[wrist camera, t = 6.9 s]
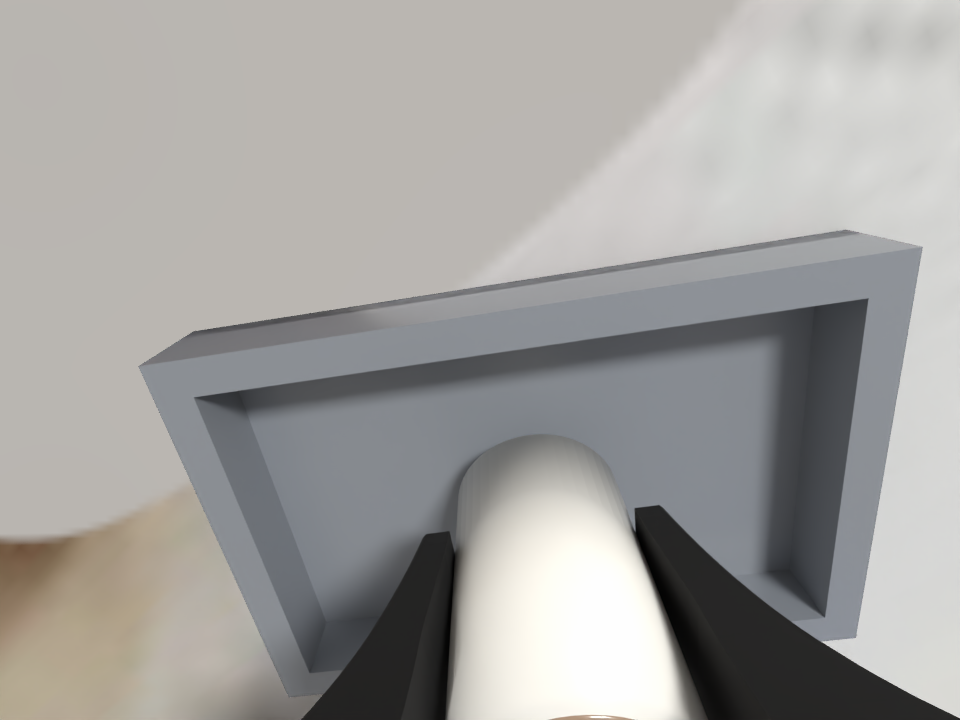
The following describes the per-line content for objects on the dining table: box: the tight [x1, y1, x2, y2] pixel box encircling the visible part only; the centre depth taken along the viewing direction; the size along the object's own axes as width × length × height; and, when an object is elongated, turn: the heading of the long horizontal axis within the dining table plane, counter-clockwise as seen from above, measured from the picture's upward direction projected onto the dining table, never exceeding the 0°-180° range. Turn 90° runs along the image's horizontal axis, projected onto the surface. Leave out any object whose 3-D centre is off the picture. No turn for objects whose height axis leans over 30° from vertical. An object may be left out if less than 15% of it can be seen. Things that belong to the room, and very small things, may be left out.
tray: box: [139, 230, 923, 697], centre depth 15 cm, size 12×18×2 cm, turn 99°
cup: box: [445, 434, 708, 720], centre depth 12 cm, size 5×5×7 cm
